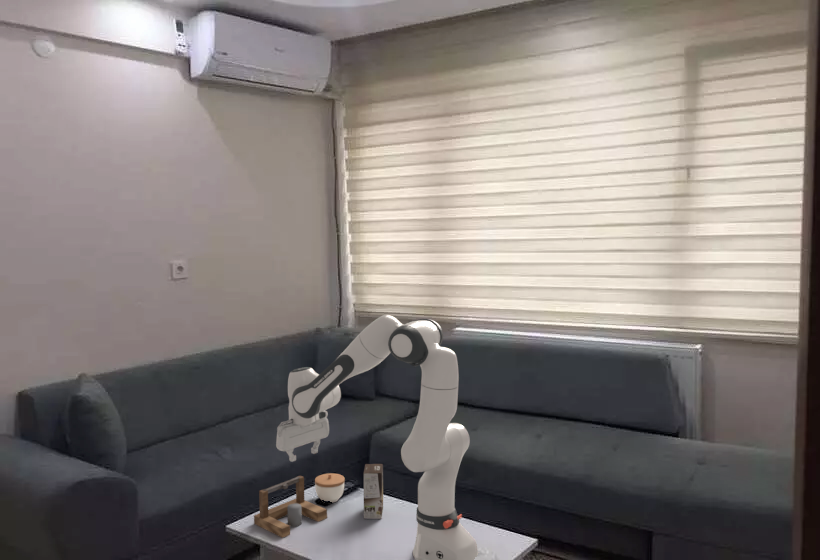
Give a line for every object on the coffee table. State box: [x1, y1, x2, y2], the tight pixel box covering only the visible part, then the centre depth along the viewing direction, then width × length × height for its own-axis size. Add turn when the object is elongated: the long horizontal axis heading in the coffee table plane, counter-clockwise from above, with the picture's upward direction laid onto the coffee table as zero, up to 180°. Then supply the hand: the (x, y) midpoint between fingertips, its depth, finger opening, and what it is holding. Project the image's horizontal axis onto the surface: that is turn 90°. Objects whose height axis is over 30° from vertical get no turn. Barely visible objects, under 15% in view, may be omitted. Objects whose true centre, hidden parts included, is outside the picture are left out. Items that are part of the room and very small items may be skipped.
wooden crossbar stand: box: [253, 475, 328, 539], centre depth 231 cm, size 15×19×12 cm
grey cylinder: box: [287, 504, 303, 528], centre depth 229 cm, size 5×5×6 cm
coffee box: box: [363, 463, 384, 520], centre depth 237 cm, size 9×6×16 cm
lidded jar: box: [314, 472, 346, 504], centre depth 249 cm, size 11×11×9 cm
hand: (303, 456), depth 228 cm, fingers open, 8 cm apart
